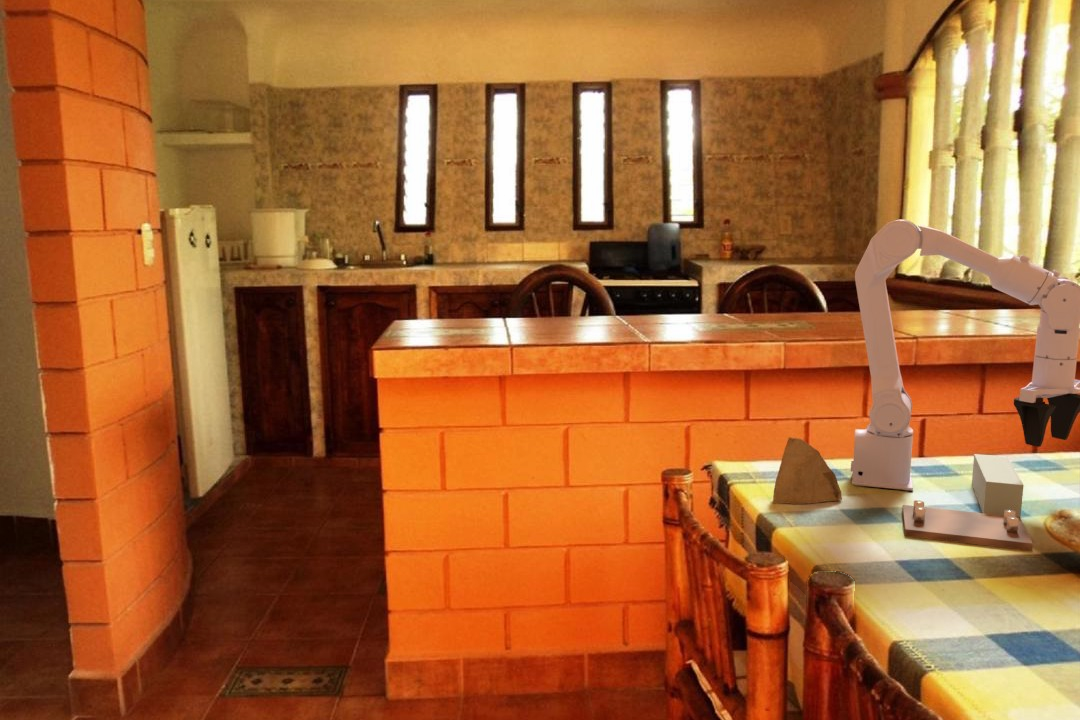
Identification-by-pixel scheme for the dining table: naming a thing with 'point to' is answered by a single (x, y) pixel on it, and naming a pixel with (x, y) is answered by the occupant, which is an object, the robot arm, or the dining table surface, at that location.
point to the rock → (804, 476)
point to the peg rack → (966, 526)
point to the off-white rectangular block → (996, 485)
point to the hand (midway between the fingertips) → (1046, 441)
